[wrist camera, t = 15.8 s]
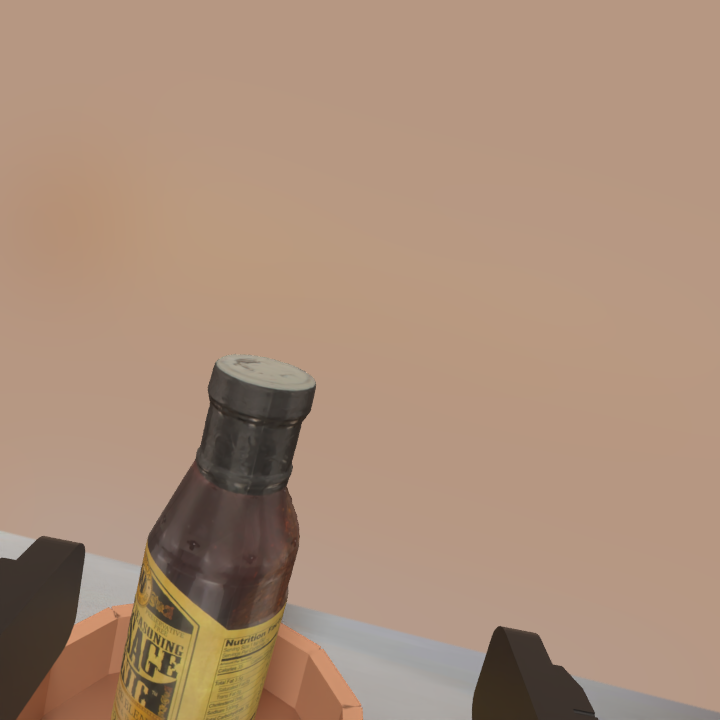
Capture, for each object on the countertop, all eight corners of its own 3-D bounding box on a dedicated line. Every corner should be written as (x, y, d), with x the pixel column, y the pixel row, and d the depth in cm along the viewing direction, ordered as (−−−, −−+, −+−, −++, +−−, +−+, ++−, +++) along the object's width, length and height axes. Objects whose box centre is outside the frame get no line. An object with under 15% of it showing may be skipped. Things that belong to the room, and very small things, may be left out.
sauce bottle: (93, 732, 29) (165, 333, 25) (220, 709, 32) (302, 351, 28) (105, 869, 23) (201, 382, 19) (259, 825, 26) (367, 398, 22)
